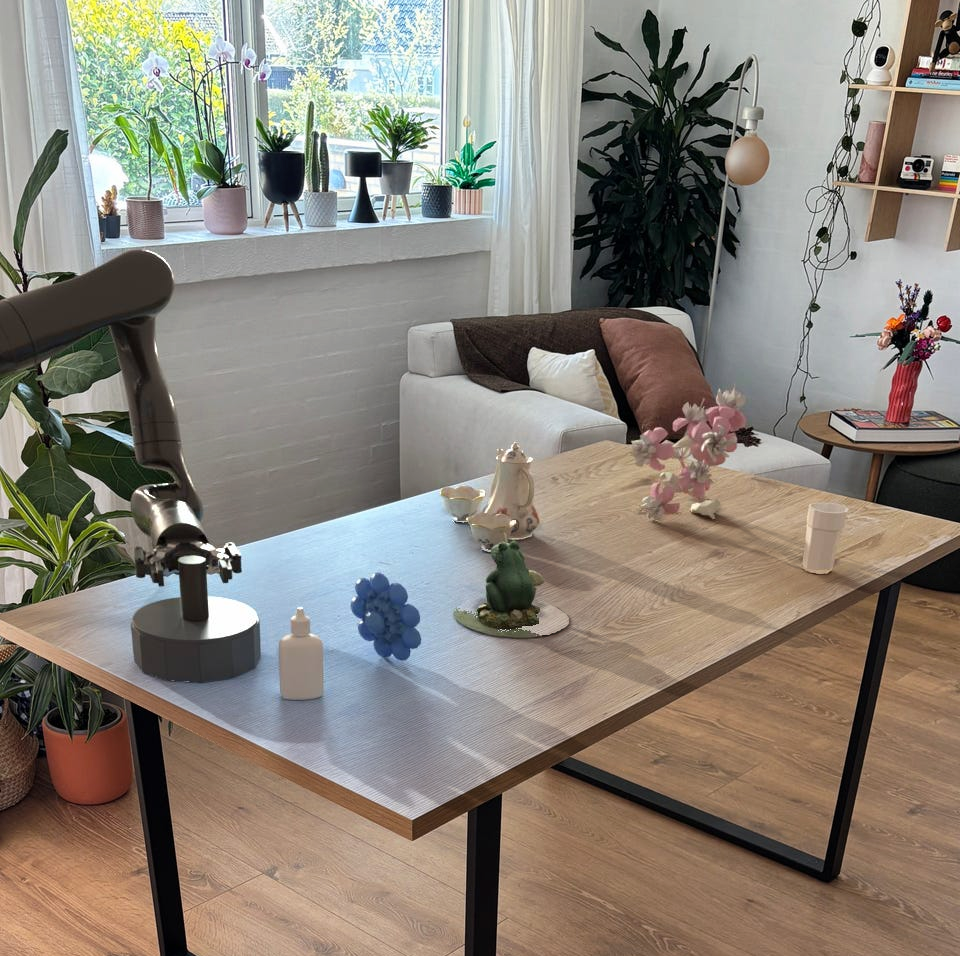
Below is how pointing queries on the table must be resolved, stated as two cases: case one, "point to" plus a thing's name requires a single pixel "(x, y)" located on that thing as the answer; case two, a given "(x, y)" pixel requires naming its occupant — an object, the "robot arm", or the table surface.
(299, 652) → the eye dropper bottle
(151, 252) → the robot arm
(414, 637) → the blue knobbed wheel
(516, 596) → the frog figurine
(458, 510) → the chinaware
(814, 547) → the cup
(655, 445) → the flower
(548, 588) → the table surface
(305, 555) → the table surface
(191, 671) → the cover
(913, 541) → the table surface
